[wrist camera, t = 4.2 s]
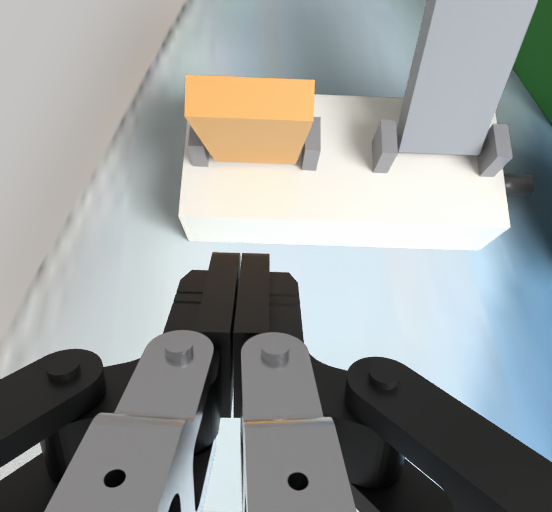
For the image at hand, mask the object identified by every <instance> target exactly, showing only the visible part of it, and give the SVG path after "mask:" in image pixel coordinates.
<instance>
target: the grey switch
mask: <svg viewBox="0 0 552 512" xmlns="http://www.w3.org/2000/svg"><path fill="white" fill-rule="evenodd" d="M537 2H538V0H427V3H426V7H425V11H424V15H423V20H422V24H421V28H420V32H419V37H418V41H417V45H416V49H415V54H414V58H413V62H412V66H411V71H410V75H409V79H408V83H407V87H406V92H405V96H404V100H403V104H402V109H401V113H400V117H399V121H398V126H397V146H398V153H411V154H438V155H465V156H479V155H480V154H481V153H482V150H483V143H484V140H485V138H486V135H487V132H488V130H489V127H490V125H491V122H492V119H493V117H494V114H495V112H496V109H497V106H498V104H499V101H500V99H501V96H502V93H503V91H504V88H505V86H506V83H507V80H508V78H509V75H510V73H511V70H512V67H513V65H514V62H515V59H516V57H517V54H518V52H519V49H520V46H521V44H522V41H523V39H524V36H525V33H526V31H527V28H528V26H529V23H530V20H531V18H532V15H533V13H534V10H535V7H536V5H537Z"/></svg>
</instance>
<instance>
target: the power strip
mask: <svg viewBox="0 0 552 512" xmlns="http://www.w3.org/2000/svg"><path fill="white" fill-rule="evenodd" d="M403 100H404V98H395V97H370V96H344V95H319V94H314V121H313V124H312V126H311V129H310V131H309V133H308V136H307V138H306V141H305V143H304V145H303V148H302V150H301V153H300V160H297V162H296V164H275V163H248V162H220V161H215V160H214V159H213V157H211V155H210V153H209V152H208V150H207V149H206V147H205V146H204V144H203V143H202V141H201V140H200V138H199V137H198V135H197V134H196V133H195V131H194V130H193V128H192V127H191V125H190V124H189V122H188V121H187V126H186V137H185V148H184V159H183V170H182V181H181V192H180V203H179V214H178V217H179V219H180V221H181V224H182V226H183V229H184V231H185V233H186V236H187V238H188V240H189V241H205V242H236V243H267V244H297V245H328V246H359V247H390V248H421V249H451V250H480V249H482V248H483V247H484V246H486V245H487V244H488V243H490V242H491V241H493V240H494V239H495V238H497V237H498V236H499V235H501V234H502V233H503V232H505V231H506V230H508V229H509V228H510V220H509V212H508V204H507V197H506V196H530V195H531V193H532V192H533V189H534V177H533V176H532V175H531V174H521V173H503V167H504V166H505V165H506V164H507V163H508V162H509V161H510V160H511V159H512V158H513V156H512V149H511V141H510V134H509V127H508V124H497V120H496V113H495V114H494V117H493V119H492V122H491V125H490V127H489V130H488V132H487V135H486V138H485V140H484V143H483V150H482V153H481V154H480V155H479V156H465V155H438V154H411V153H398V146H397V126H398V121H399V117H400V113H401V109H402V104H403Z"/></svg>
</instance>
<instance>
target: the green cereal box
mask: <svg viewBox="0 0 552 512" xmlns="http://www.w3.org/2000/svg"><path fill="white" fill-rule="evenodd" d="M512 68H513V70H514V71H515V72H516V74H517V75H518V77H519V78H520V80H521V81H522V83H523V84H524V85H525V87H526V88H527V90H528V91H529V93H530V94H531V96H532V97H533V99H534V100H535V101H536V103H537V104H538V106H539V107H540V109H541V110H542V112H543V113H544V115H545V116H546V117H547V119H548V120H549V122H550V123H551V125H552V0H538V2H537V5H536V7H535V10H534V13H533V15H532V18H531V20H530V23H529V26H528V28H527V31H526V33H525V36H524V39H523V41H522V44H521V46H520V49H519V52H518V54H517V57H516V59H515V62H514V65H513V67H512Z"/></svg>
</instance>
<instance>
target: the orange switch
mask: <svg viewBox="0 0 552 512" xmlns="http://www.w3.org/2000/svg"><path fill="white" fill-rule="evenodd" d="M314 93H315V80H307V79H282V78H256V77H231V76H206V75H185V115H184V116H185V118H186V119H187V121H188V122H189V124H190V125H191V127H192V128H193V130H194V131H195V133H196V134H197V135H198V137H199V138H200V140H201V141H202V143H203V144H204V146H205V147H206V149H207V150H208V152H209V153H210V155H211V157H213V159H214V160H215V161H220V162H248V163H275V164H296V162H297V160H300V153H301V150H302V148H303V145H304V143H305V141H306V138H307V136H308V133H309V131H310V129H311V126H312V124H313V121H314Z"/></svg>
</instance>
